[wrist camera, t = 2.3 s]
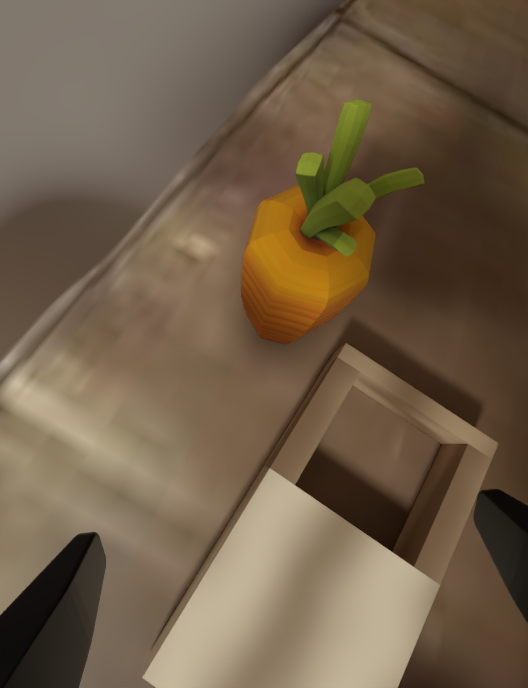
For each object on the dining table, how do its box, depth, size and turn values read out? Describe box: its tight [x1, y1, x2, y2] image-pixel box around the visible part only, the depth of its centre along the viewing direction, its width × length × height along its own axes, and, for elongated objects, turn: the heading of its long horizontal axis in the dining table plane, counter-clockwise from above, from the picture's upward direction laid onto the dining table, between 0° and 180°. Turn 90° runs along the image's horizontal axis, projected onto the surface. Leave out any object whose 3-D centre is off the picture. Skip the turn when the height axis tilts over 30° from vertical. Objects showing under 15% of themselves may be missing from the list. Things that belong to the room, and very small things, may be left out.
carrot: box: [241, 99, 425, 344], centre depth 16 cm, size 5×5×15 cm
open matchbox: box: [142, 343, 499, 688], centre depth 19 cm, size 10×18×2 cm, turn 147°
